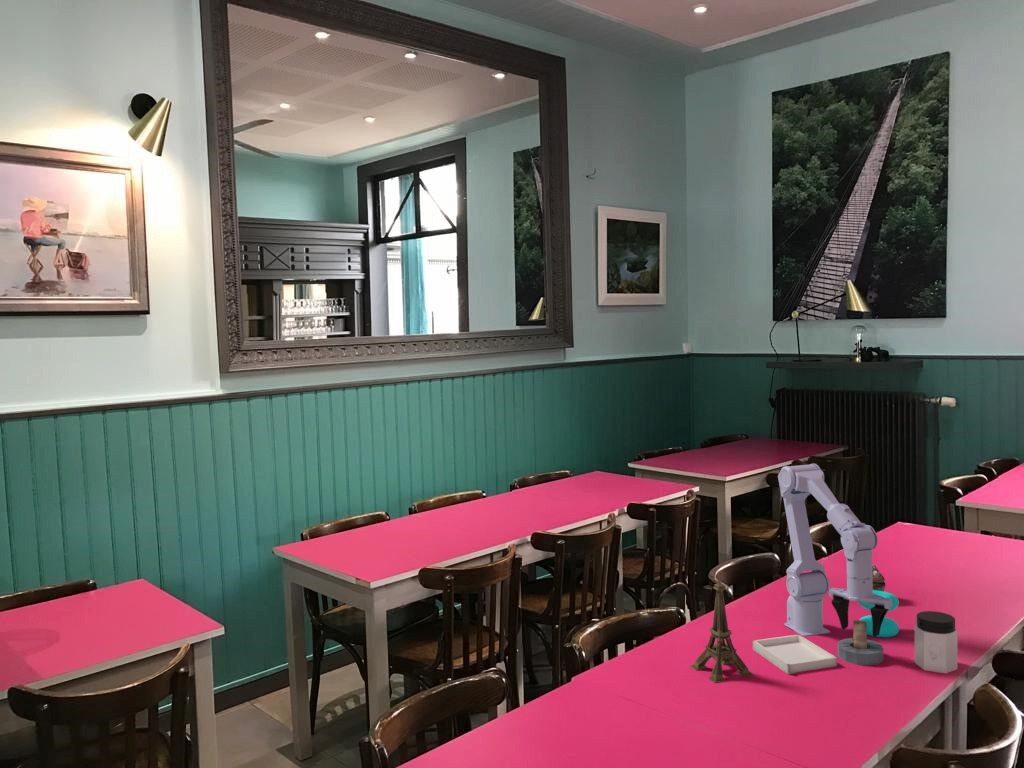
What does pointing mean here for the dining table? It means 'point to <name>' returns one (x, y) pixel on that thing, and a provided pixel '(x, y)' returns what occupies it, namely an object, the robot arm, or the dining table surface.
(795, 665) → the tray
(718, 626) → the eiffel tower
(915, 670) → the dining table surface
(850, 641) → the grey faceted ashtray
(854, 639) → the pin
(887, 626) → the donuts
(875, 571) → the cupcake
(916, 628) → the jar
